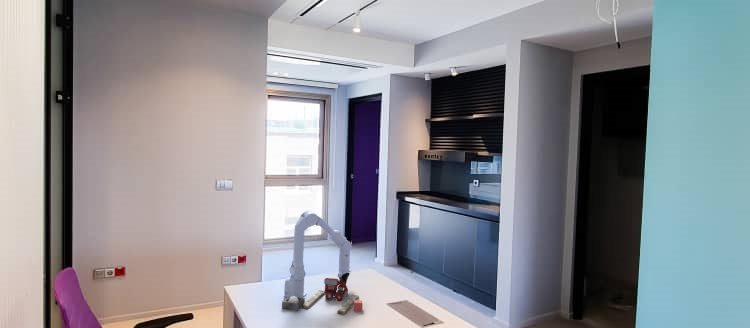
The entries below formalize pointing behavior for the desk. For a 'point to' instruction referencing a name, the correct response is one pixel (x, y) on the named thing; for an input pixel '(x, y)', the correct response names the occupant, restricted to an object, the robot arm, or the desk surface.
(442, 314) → the desk surface
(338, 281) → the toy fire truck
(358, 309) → the red die
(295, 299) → the dome button
